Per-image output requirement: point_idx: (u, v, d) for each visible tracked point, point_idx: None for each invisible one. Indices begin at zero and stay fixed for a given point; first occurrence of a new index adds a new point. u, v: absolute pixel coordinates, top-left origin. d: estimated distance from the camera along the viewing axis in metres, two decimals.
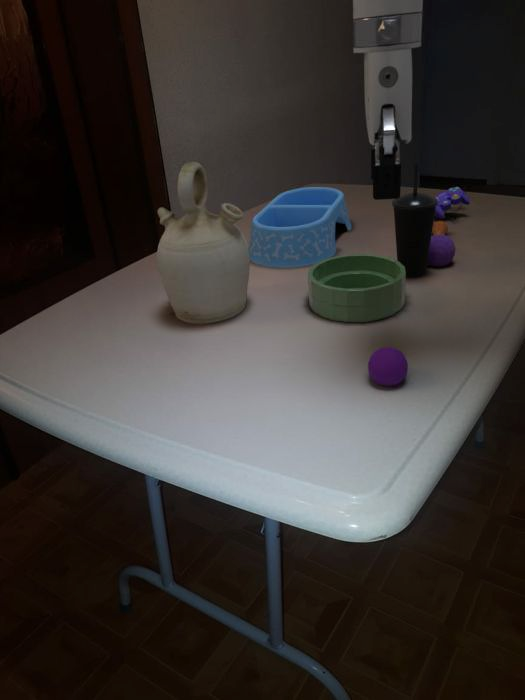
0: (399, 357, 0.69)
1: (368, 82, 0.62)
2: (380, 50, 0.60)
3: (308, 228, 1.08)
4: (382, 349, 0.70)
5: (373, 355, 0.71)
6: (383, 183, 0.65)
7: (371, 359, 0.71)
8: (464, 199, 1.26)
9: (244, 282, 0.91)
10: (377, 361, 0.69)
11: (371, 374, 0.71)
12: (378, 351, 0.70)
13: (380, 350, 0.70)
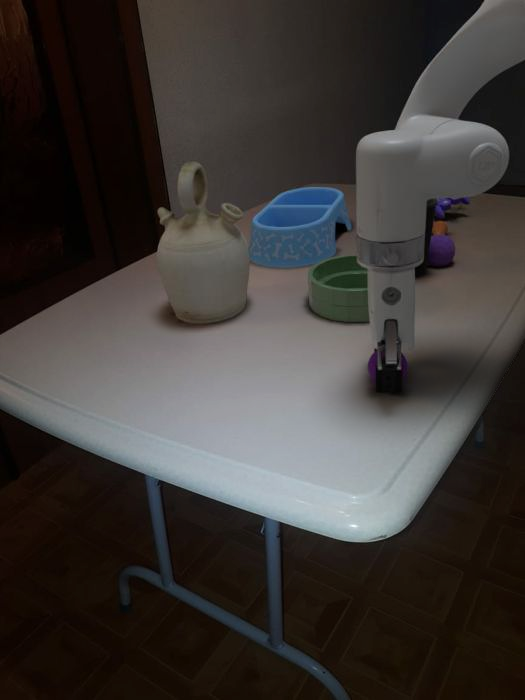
0: None
1: (371, 296, 0.63)
2: (383, 270, 0.61)
3: (308, 228, 1.08)
4: None
5: (373, 355, 0.71)
6: (385, 384, 0.68)
7: (371, 359, 0.71)
8: (464, 199, 1.26)
9: (244, 282, 0.91)
10: (377, 361, 0.69)
11: (371, 374, 0.71)
12: None
13: None
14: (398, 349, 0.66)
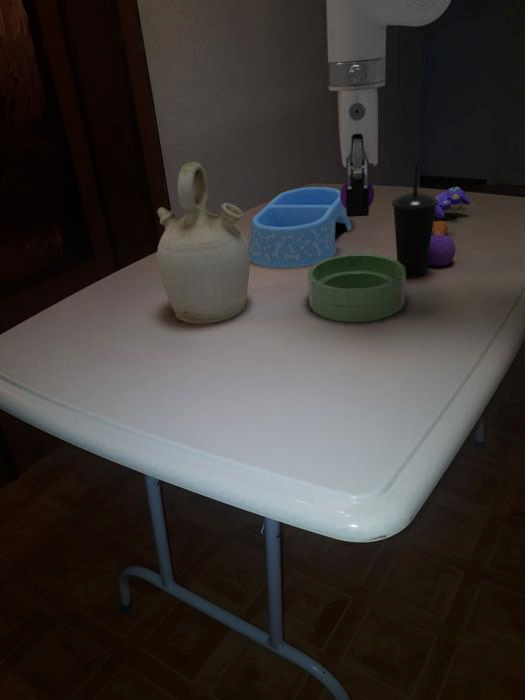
0: None
1: (340, 115, 0.74)
2: (350, 89, 0.72)
3: (308, 228, 1.08)
4: None
5: (344, 184, 0.82)
6: (354, 203, 0.79)
7: (342, 187, 0.82)
8: (464, 199, 1.26)
9: (244, 282, 0.91)
10: (347, 187, 0.80)
11: (342, 200, 0.82)
12: None
13: None
14: (364, 168, 0.77)
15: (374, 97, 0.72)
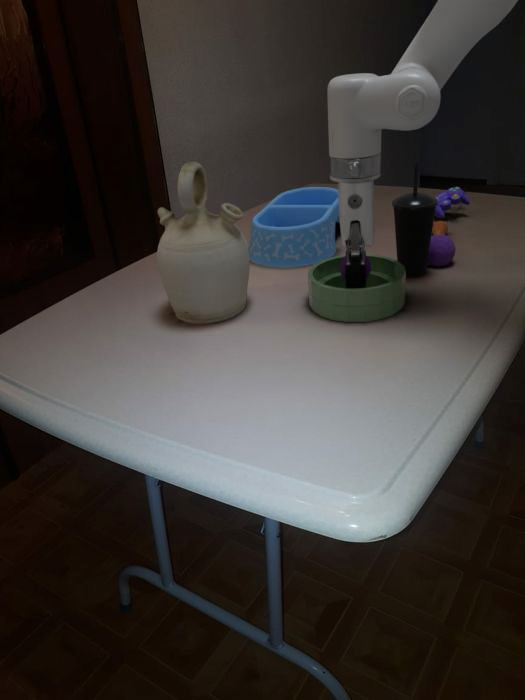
0: None
1: (340, 203, 0.82)
2: (349, 181, 0.80)
3: (308, 228, 1.08)
4: None
5: (344, 258, 0.90)
6: (353, 277, 0.87)
7: (342, 261, 0.90)
8: (464, 199, 1.26)
9: (244, 282, 0.91)
10: (346, 261, 0.89)
11: (342, 273, 0.90)
12: None
13: None
14: (362, 248, 0.85)
15: (370, 189, 0.80)
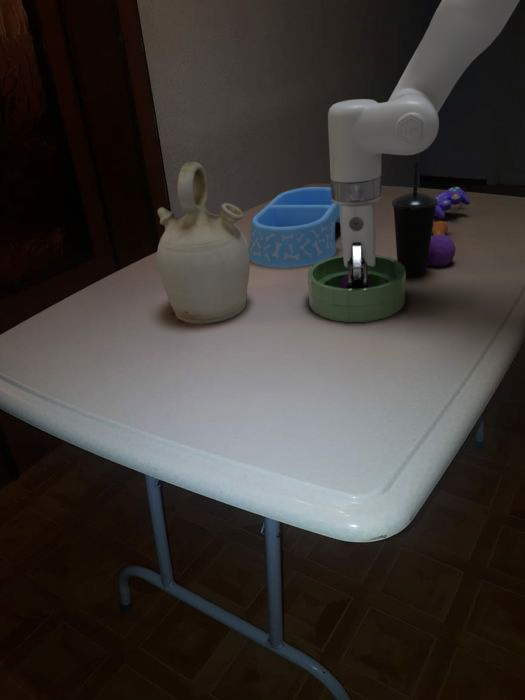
0: None
1: (342, 226, 0.83)
2: (350, 204, 0.82)
3: (308, 228, 1.08)
4: None
5: (344, 277, 0.92)
6: None
7: (342, 280, 0.92)
8: (464, 199, 1.26)
9: (244, 282, 0.91)
10: (347, 281, 0.90)
11: None
12: (348, 274, 0.91)
13: None
14: (363, 266, 0.86)
15: (371, 212, 0.81)
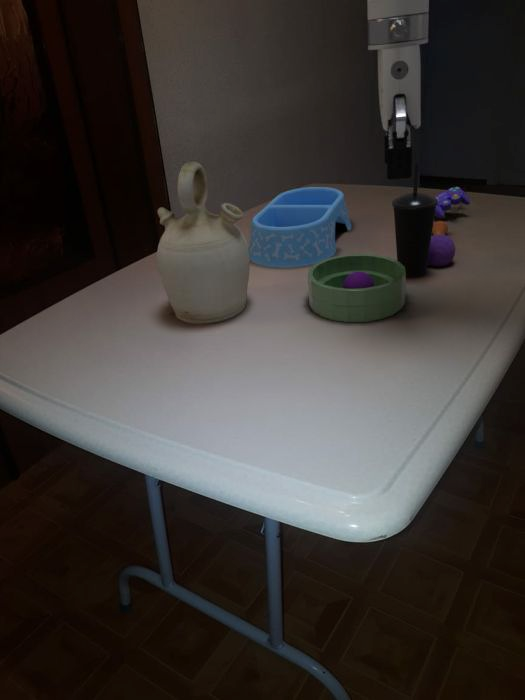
0: (369, 278, 0.90)
1: (382, 75, 0.70)
2: (392, 47, 0.69)
3: (308, 228, 1.08)
4: None
5: (349, 275, 0.92)
6: (396, 164, 0.74)
7: (347, 277, 0.91)
8: (464, 199, 1.26)
9: (244, 282, 0.91)
10: (352, 278, 0.90)
11: None
12: (353, 272, 0.91)
13: (355, 272, 0.91)
14: (407, 125, 0.72)
15: (417, 54, 0.69)
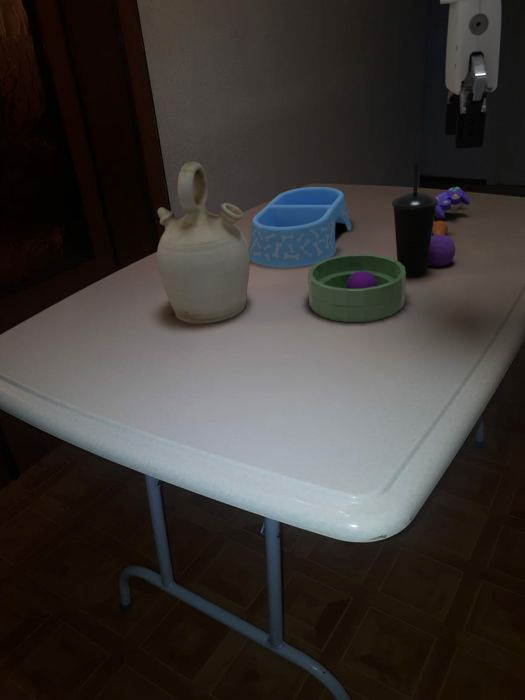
0: (374, 279, 0.91)
1: (457, 30, 0.64)
2: None
3: (308, 228, 1.08)
4: (363, 271, 0.92)
5: (355, 272, 0.92)
6: (467, 130, 0.67)
7: (353, 274, 0.91)
8: (464, 199, 1.26)
9: (244, 282, 0.91)
10: (358, 276, 0.90)
11: (349, 285, 0.91)
12: (360, 271, 0.92)
13: (361, 271, 0.92)
14: None
15: (500, 7, 0.62)
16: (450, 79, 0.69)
